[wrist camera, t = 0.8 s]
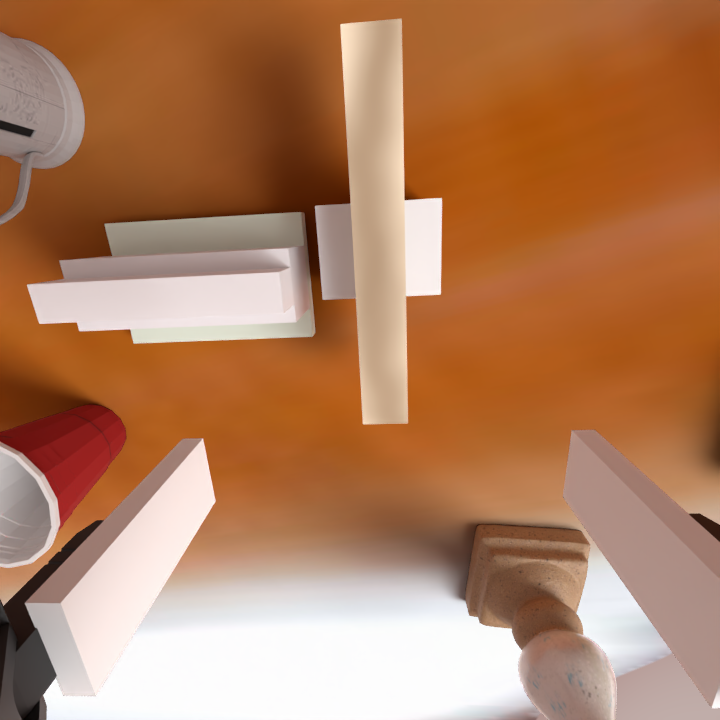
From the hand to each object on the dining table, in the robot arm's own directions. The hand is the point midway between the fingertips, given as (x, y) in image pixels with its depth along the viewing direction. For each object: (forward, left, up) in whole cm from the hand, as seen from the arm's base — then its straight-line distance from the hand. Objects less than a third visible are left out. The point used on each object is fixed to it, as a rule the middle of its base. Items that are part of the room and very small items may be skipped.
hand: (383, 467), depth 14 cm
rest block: (0, -7, -21) cm, 22 cm away
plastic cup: (+29, +9, -21) cm, 37 cm away
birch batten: (0, -7, -14) cm, 16 cm away
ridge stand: (+14, -5, -21) cm, 26 cm away
